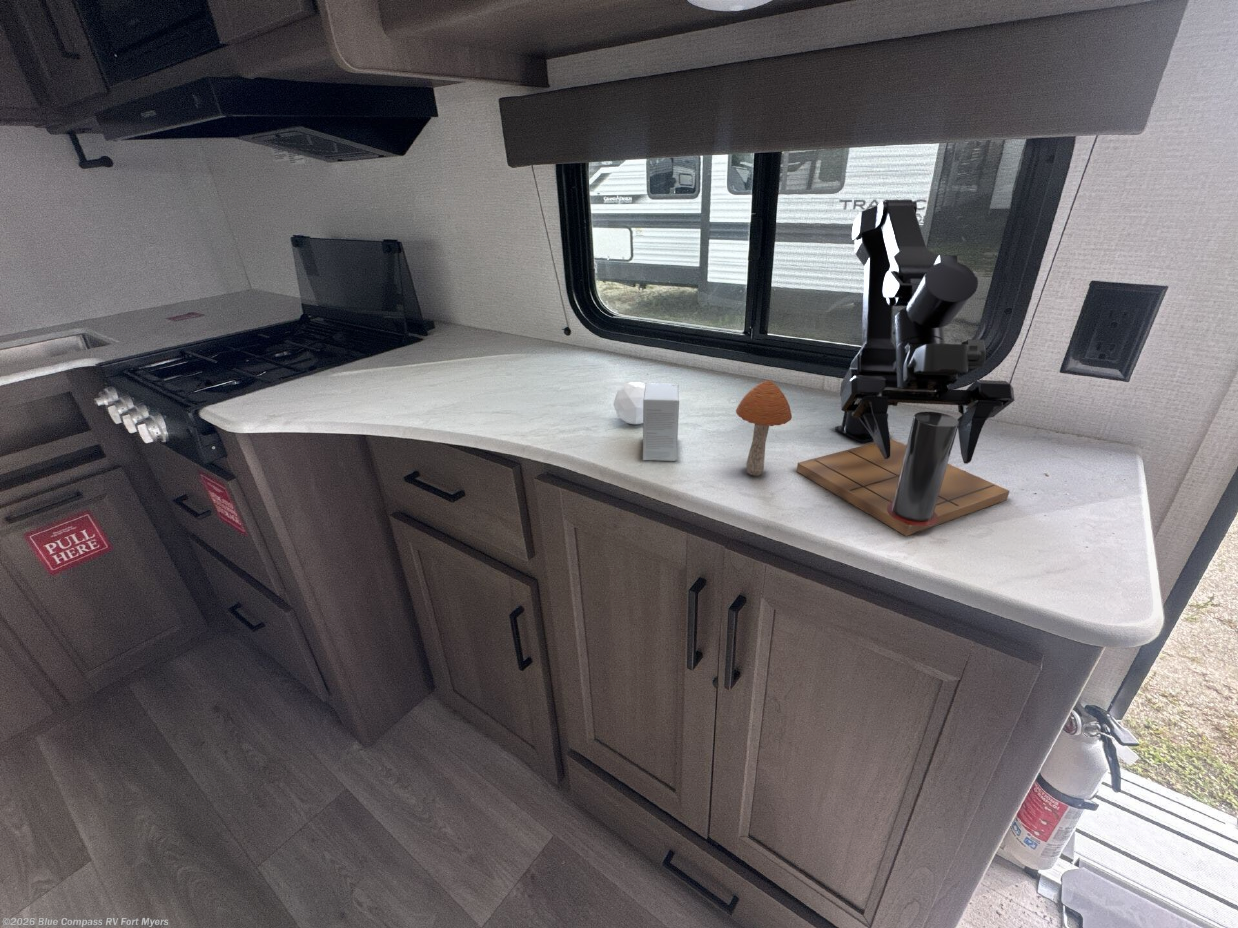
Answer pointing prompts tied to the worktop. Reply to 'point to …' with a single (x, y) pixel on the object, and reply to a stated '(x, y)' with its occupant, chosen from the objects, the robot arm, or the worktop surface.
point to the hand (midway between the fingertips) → (927, 460)
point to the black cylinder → (924, 465)
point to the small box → (660, 421)
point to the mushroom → (762, 419)
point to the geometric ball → (630, 403)
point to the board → (876, 479)
